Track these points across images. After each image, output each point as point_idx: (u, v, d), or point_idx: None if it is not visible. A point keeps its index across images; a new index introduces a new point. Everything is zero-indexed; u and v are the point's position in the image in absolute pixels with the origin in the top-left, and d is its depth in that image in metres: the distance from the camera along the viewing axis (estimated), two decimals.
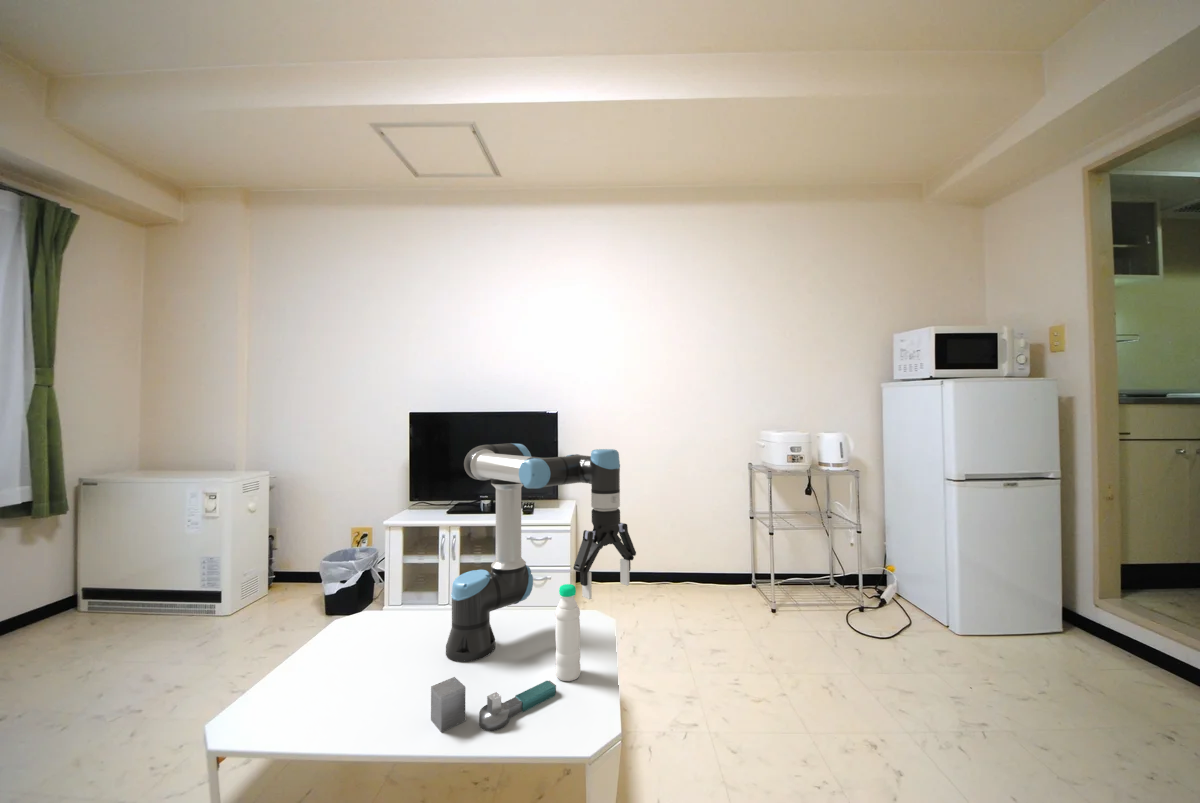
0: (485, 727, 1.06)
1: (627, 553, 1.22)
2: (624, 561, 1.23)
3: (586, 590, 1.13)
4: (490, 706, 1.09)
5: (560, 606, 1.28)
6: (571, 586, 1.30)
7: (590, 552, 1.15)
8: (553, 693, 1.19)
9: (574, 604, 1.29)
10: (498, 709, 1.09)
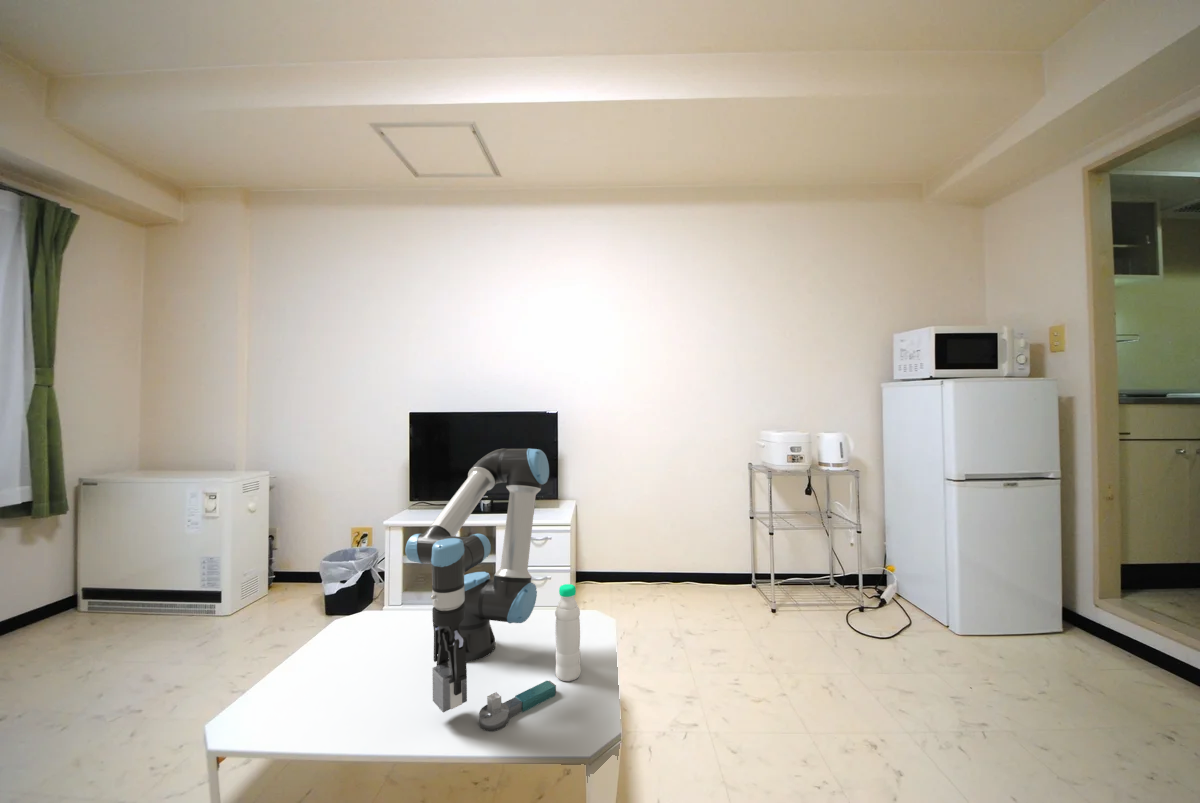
0: (485, 727, 1.06)
1: (451, 672, 1.07)
2: None
3: None
4: (490, 706, 1.09)
5: (560, 606, 1.28)
6: (571, 586, 1.30)
7: None
8: (553, 693, 1.19)
9: (574, 604, 1.29)
10: (498, 709, 1.09)
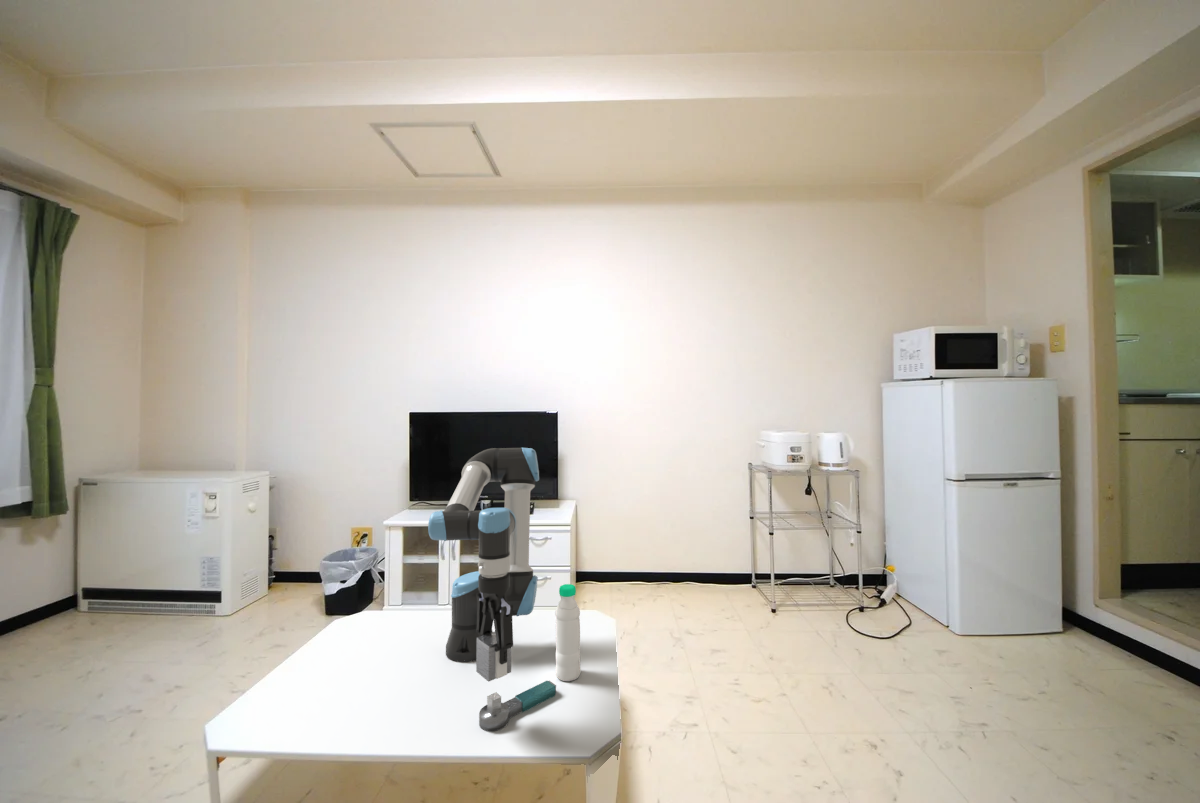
0: (485, 727, 1.06)
1: (498, 640, 1.07)
2: None
3: None
4: (490, 706, 1.09)
5: (560, 606, 1.28)
6: (571, 586, 1.30)
7: None
8: (553, 693, 1.19)
9: (574, 604, 1.29)
10: (498, 709, 1.09)
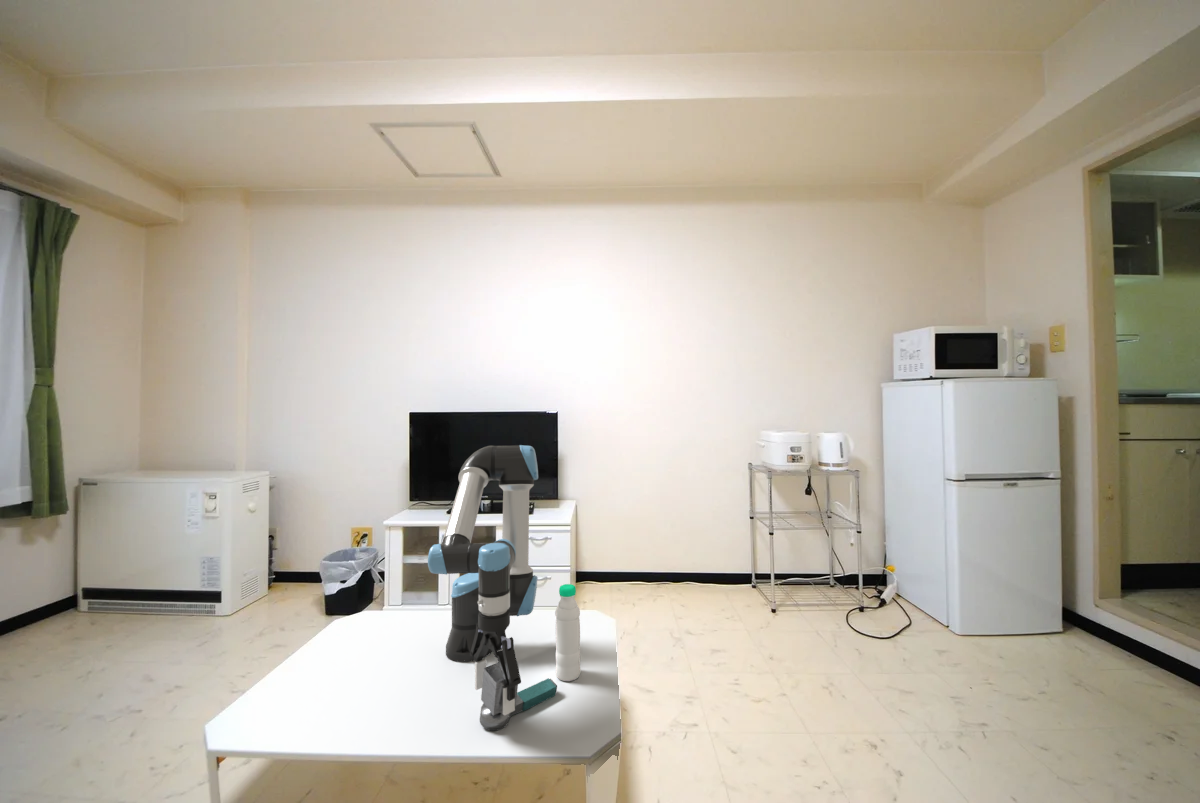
0: (486, 725, 1.06)
1: (504, 676, 1.05)
2: None
3: None
4: None
5: (560, 606, 1.28)
6: (571, 586, 1.30)
7: None
8: (553, 693, 1.19)
9: (574, 604, 1.29)
10: None
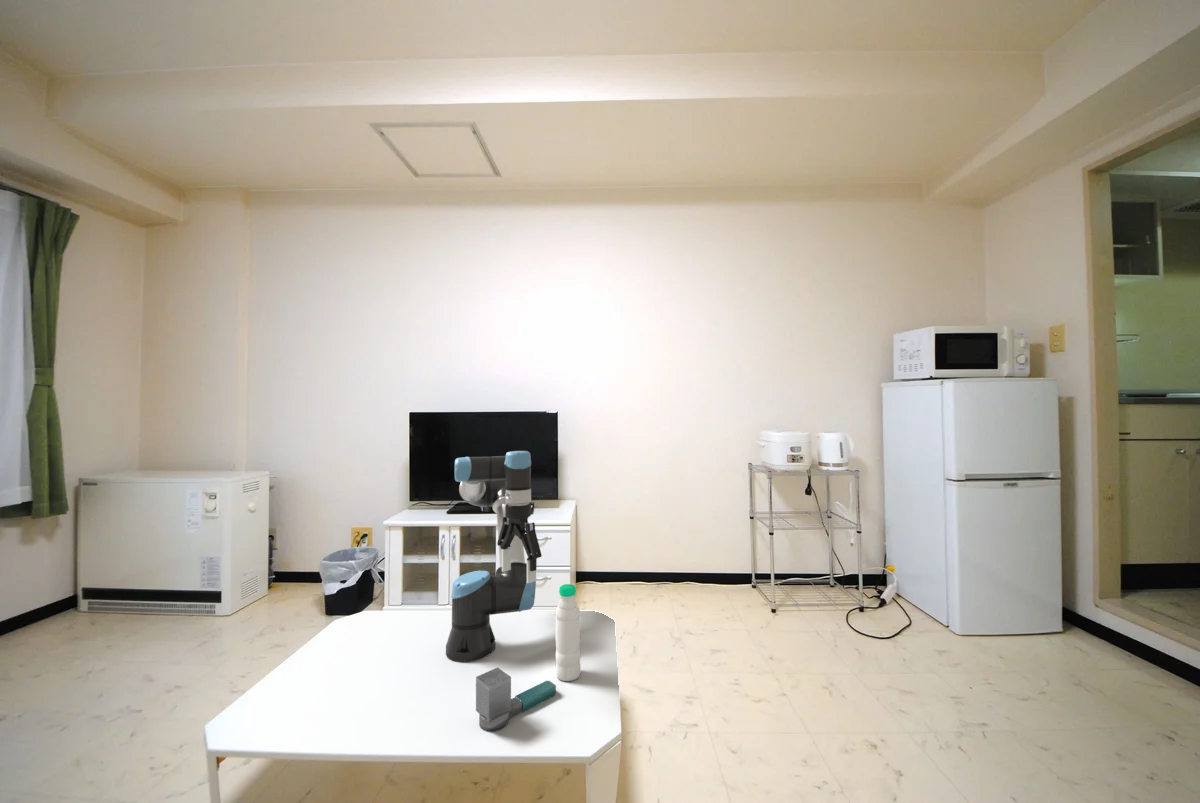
0: (486, 727, 1.06)
1: (527, 552, 1.29)
2: None
3: None
4: None
5: (560, 606, 1.28)
6: (571, 586, 1.30)
7: None
8: (553, 693, 1.19)
9: (574, 604, 1.29)
10: None
